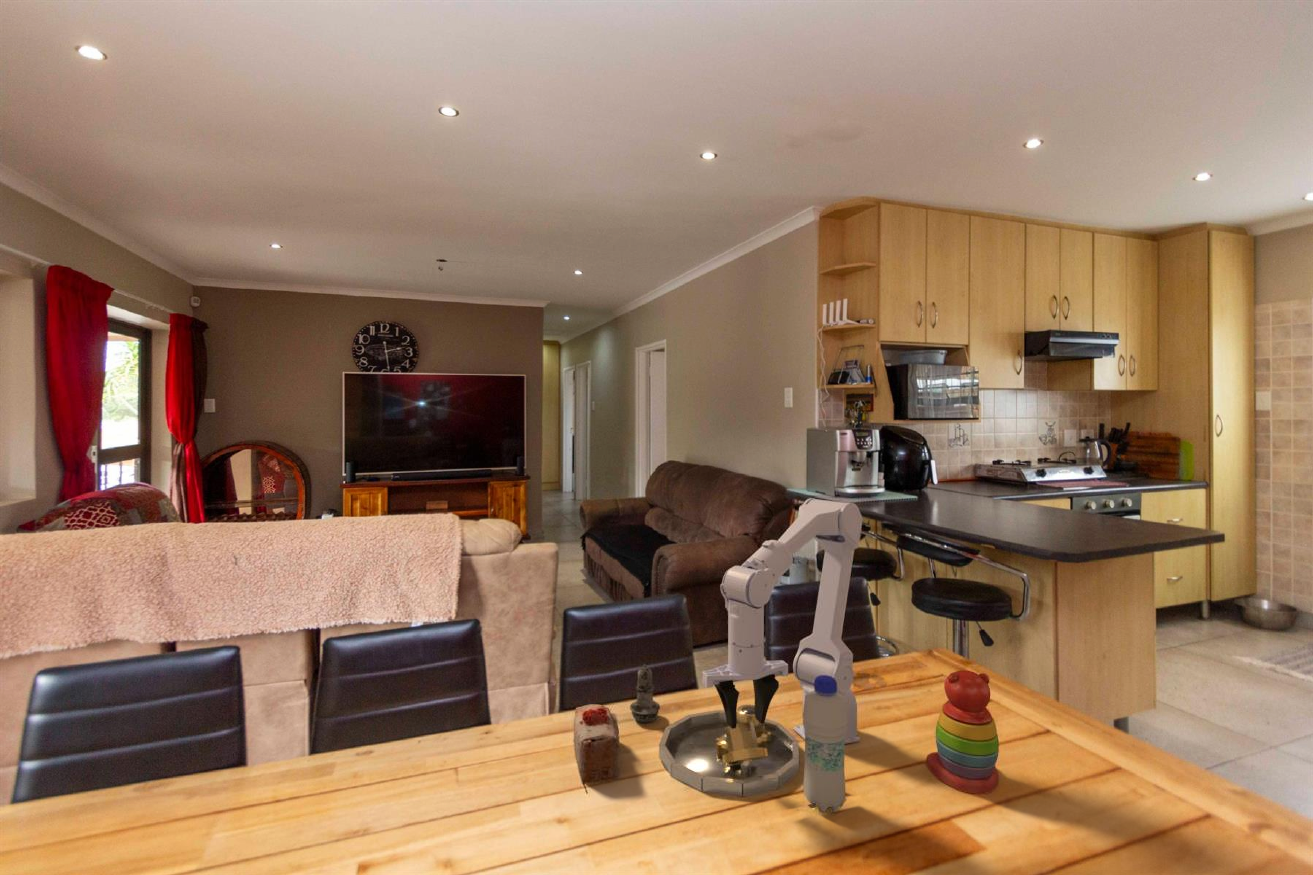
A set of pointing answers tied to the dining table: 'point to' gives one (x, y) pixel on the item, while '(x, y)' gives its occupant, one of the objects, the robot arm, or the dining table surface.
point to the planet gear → (742, 744)
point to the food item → (596, 743)
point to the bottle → (824, 745)
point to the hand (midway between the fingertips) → (745, 723)
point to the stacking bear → (966, 736)
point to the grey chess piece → (644, 698)
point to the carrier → (702, 742)
